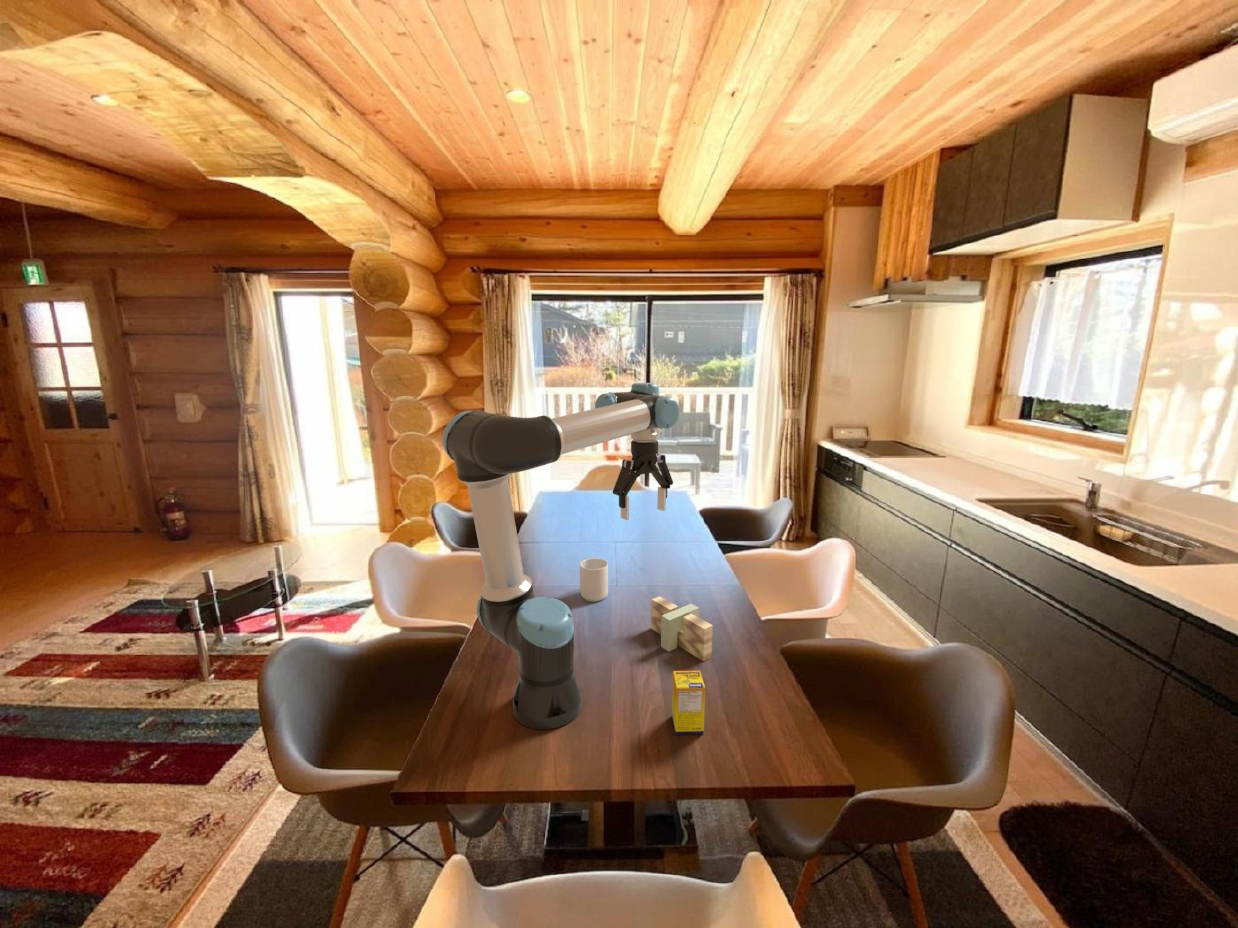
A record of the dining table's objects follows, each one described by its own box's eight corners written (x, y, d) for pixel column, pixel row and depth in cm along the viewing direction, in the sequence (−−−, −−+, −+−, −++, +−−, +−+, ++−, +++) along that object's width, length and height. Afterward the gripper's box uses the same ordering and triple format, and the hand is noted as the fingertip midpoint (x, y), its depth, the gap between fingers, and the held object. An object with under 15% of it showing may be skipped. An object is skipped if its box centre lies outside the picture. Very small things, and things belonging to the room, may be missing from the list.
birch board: (711, 657, 133) (712, 625, 131) (703, 661, 131) (704, 629, 129) (658, 625, 148) (659, 596, 146) (651, 628, 146) (651, 599, 144)
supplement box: (698, 714, 112) (700, 669, 109) (704, 734, 106) (706, 687, 103) (671, 715, 111) (672, 669, 109) (675, 735, 106) (676, 687, 103)
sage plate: (668, 651, 135) (669, 620, 133) (660, 646, 137) (661, 615, 135) (698, 637, 142) (699, 607, 140) (690, 633, 144) (691, 603, 142)
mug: (605, 603, 161) (605, 570, 158) (577, 601, 162) (577, 568, 159) (611, 586, 172) (611, 555, 170) (585, 585, 173) (584, 554, 171)
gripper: (616, 446, 131) (616, 526, 136) (686, 437, 146) (684, 509, 151) (599, 442, 137) (599, 519, 141) (668, 434, 152) (666, 503, 156)
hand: (643, 514), depth 146 cm, fingers open, 13 cm apart
